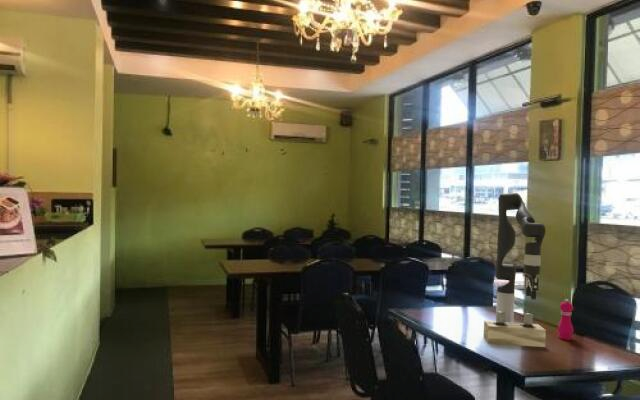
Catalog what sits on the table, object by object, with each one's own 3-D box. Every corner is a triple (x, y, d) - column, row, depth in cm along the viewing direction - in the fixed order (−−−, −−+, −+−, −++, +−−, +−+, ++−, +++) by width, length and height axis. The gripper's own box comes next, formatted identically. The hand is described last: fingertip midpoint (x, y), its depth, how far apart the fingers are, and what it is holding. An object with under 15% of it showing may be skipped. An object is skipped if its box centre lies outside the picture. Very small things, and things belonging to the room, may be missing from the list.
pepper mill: (574, 340, 255) (576, 300, 255) (559, 339, 256) (561, 299, 256) (570, 336, 262) (572, 298, 262) (555, 335, 263) (557, 297, 263)
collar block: (483, 336, 255) (484, 320, 255) (537, 340, 252) (538, 324, 252) (488, 343, 243) (489, 326, 243) (545, 347, 240) (545, 330, 240)
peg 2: (522, 328, 249) (523, 312, 249) (530, 329, 249) (531, 313, 249) (524, 330, 245) (525, 314, 245) (533, 331, 245) (534, 315, 245)
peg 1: (495, 326, 251) (495, 310, 251) (503, 327, 250) (504, 311, 250) (496, 328, 247) (497, 312, 247) (505, 329, 246) (506, 313, 246)
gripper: (520, 261, 254) (518, 294, 254) (528, 265, 240) (526, 299, 240) (535, 262, 253) (534, 295, 253) (545, 266, 239) (543, 300, 239)
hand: (530, 297), depth 247 cm, fingers open, 7 cm apart
